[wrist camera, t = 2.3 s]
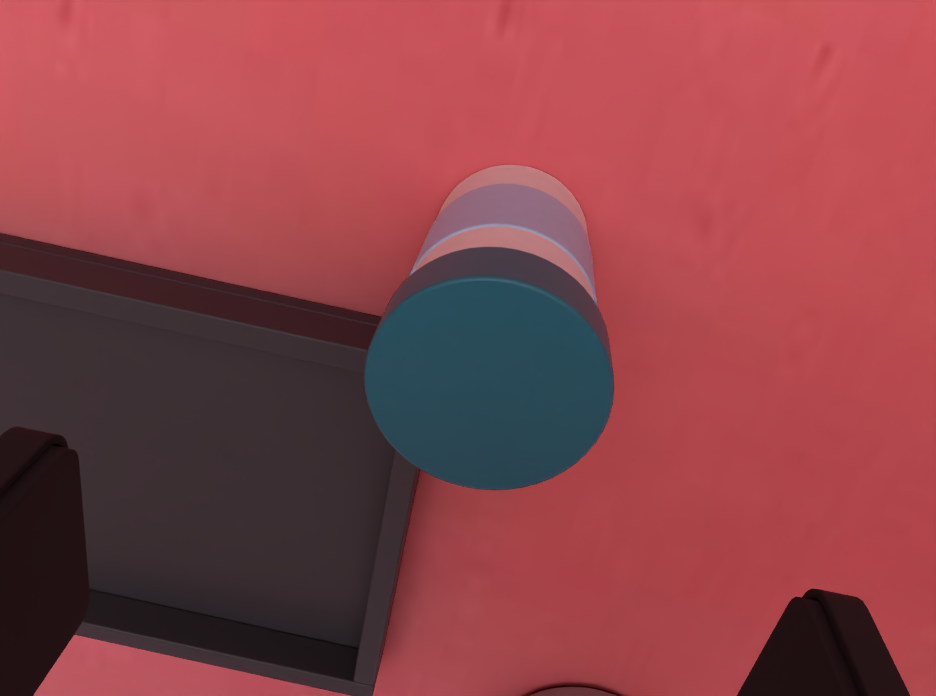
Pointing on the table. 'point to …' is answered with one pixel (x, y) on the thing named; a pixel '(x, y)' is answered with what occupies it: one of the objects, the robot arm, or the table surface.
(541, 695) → the travel mug
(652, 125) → the table surface
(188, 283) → the desk tray
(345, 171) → the table surface
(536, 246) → the pill bottle
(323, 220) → the table surface
